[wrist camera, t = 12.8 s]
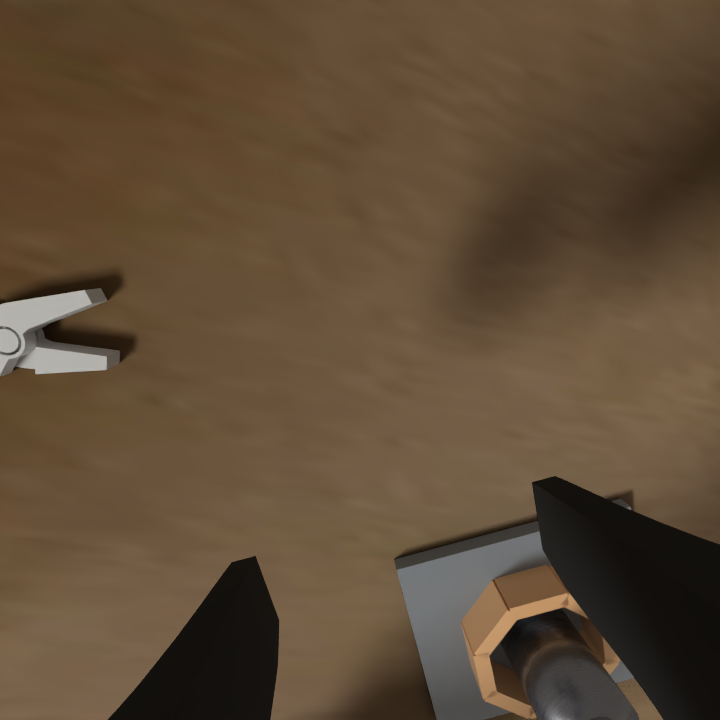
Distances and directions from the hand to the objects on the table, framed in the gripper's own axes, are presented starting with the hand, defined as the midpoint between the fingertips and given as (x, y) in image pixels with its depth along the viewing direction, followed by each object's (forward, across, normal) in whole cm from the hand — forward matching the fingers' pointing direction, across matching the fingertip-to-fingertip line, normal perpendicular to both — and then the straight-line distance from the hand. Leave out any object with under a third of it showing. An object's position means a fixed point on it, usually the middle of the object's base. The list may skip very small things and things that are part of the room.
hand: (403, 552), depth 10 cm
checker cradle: (+10, -6, +15) cm, 19 cm away
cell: (+10, -6, +15) cm, 19 cm away
